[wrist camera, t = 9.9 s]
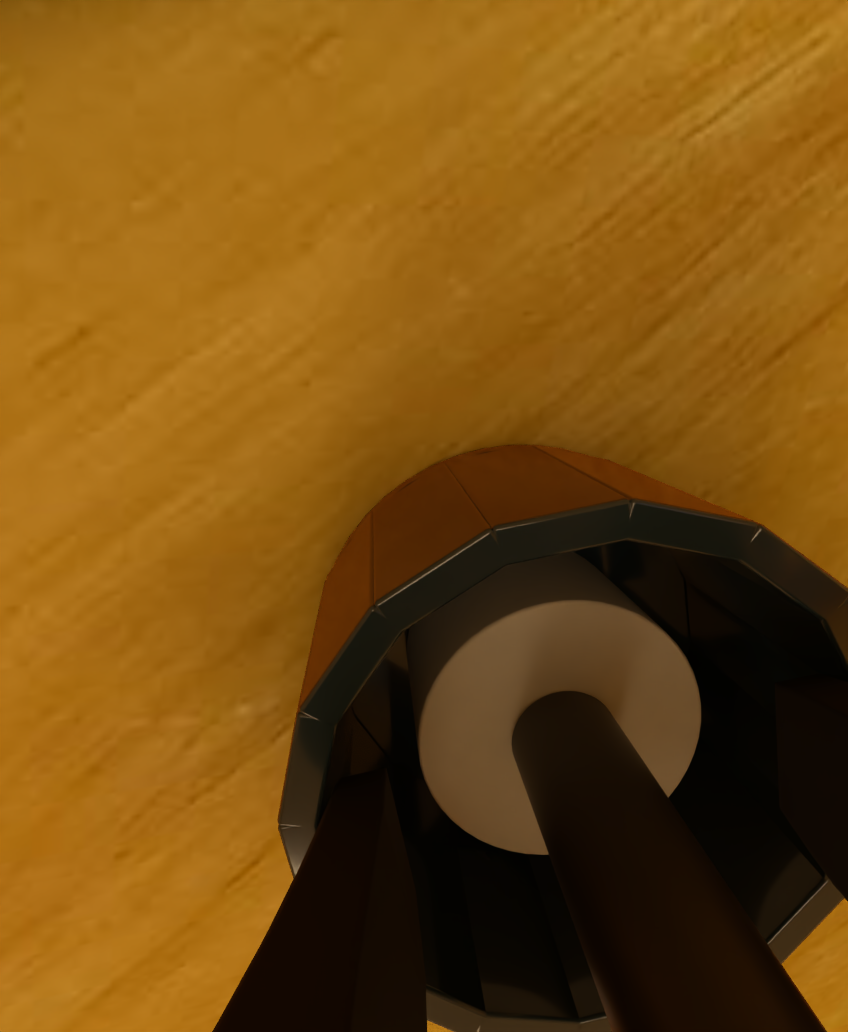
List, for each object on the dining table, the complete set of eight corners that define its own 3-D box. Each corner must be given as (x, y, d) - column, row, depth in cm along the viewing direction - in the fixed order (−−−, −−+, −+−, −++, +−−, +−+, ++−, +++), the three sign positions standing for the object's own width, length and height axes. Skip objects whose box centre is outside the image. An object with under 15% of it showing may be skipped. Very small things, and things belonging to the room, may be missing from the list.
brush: (666, 613, 12) (1190, 1062, 4) (537, 775, 13) (790, 1407, 5) (492, 496, 11) (762, 802, 3) (363, 678, 12) (347, 1269, 4)
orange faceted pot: (773, 580, 13) (1021, 716, 8) (548, 853, 14) (641, 1113, 9) (467, 359, 11) (541, 360, 6) (244, 693, 12) (160, 909, 7)
